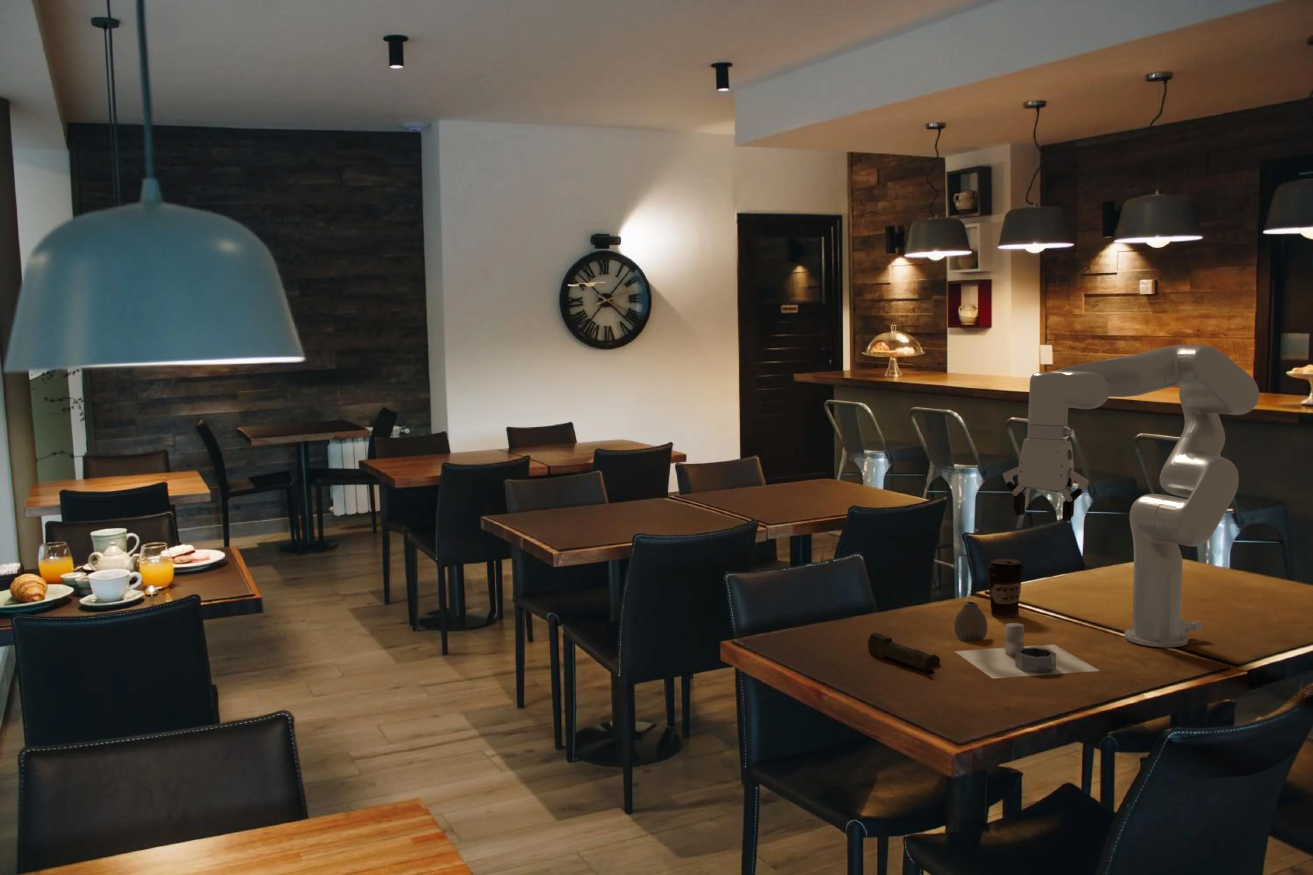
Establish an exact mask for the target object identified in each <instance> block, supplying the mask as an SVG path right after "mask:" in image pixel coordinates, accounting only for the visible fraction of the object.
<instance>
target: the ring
mask: <svg viewBox="0 0 1313 875" xmlns="http://www.w3.org/2000/svg"><path fill="white" fill-rule="evenodd" d="M1015 667H1017V668H1019V669H1020V670H1022V671H1025V672H1031V673H1051V672H1053V671H1054V670H1055V669H1056V653H1054V652H1053V651H1051V650H1049V649H1043V648H1037V647H1028V648H1020V649H1018V650H1017V651H1016V656H1015Z"/></svg>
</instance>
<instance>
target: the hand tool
mask: <svg viewBox="0 0 1313 875" xmlns="http://www.w3.org/2000/svg"><path fill="white" fill-rule="evenodd" d="M867 647H868V648H867V649H868V651H869V652H870V653H871V654H872V655H875V656H876V657H879V658H881V659H888V658H889V659H892V660H894V661H897V662H900V663H903V664H906V665H908V666H910V667H913V668H915V669H917V670H920V671H924V673H925V674H926V675H932V674H935V673H936V671H934V670H933V669H932V667H933V668H934V667H937V666H939V665H940V662H941V661H940V660H941V658H940V657H939V656H938V655H936V654H929V653H926V652H924V651H922V650H920V649H913V648H911V647H907V646H906V645H902V644H899V643H897V642H895V641H893V638H892V637H891V636H887V635H884V634H881V633H879V632H878V633H877V632H872V634H871V633H870V636H869V637H868V639H867Z"/></svg>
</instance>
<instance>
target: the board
mask: <svg viewBox="0 0 1313 875" xmlns="http://www.w3.org/2000/svg"><path fill="white" fill-rule="evenodd" d="M1004 646H1005V647H1000V648H999V647H998V648H996V647H995V648H983V649H981V648H980V649H969V650H966V649H965V650H954V652H955V653H956V654H957V655H959V656H960V657H961V658H963V659H964V660H965V661H967V662H969V663H970V664H971V665H972V666H974V667H975V668H977V669H978V670H980V671H981V672H983V673H984V674H985V675H987V676H988V677H990V678H991V679H1007V678H1019V677H1020V678H1021V677H1032V676H1033V677H1034V676H1035V677H1036V676H1047V675H1048V676H1050V675H1061V674H1062V675H1063V674H1064V675H1067V674H1076V673H1078V674H1079V673H1080V674H1081V673H1091V672H1100V671H1101V670H1100V669H1098V668H1096V667H1094V666H1093V665H1091V664H1089V663H1087V662H1086V661H1084V660H1082V659H1081V658H1079V657H1077V656H1076V655H1073V654H1072V653H1070V652H1068V651H1067V650H1065V649H1063V648H1061V647H1059V646H1058V645H1056V644H1042V645H1028V646H1025V625H1024V624H1022V623H1019V622H1018V623H1017V622H1014V623H1013V622H1009V623H1006V624H1005V644H1004ZM1028 647H1037V648H1043V649H1049V650H1051V651H1053V652H1054V653H1056V669H1055V670H1054V671H1053V672H1051V673H1031V672H1025V671H1022V670H1020V669H1019V668H1017V667H1015V656H1016V651H1017V650H1018V649H1020V648H1028Z"/></svg>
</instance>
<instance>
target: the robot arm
mask: <svg viewBox="0 0 1313 875" xmlns="http://www.w3.org/2000/svg"><path fill="white" fill-rule="evenodd" d="M1177 386H1178V387H1179V388H1178V389H1179V390H1178V396H1179V401H1180V405H1181V408H1182V412H1183V417H1184V427H1183V429H1182V430H1183V431H1182V433H1181V435H1180V437H1179V439H1178V441H1177V442H1176V444H1175V446H1174V447H1173V449H1172V451H1171V453H1170V454H1169V456H1168V458H1167V459H1166V461H1165V463H1164V464H1163V466H1162V469H1161V472H1160V475H1159V485H1160V486H1161V488H1162V489H1163V490H1164V491H1165V492H1167V493H1169V494H1172V495H1175V496H1172V495H1167V494H1166V495H1165V494H1159V493H1149V494H1144V495H1141V496H1140V497H1138V498H1137V499H1136V500H1135V501H1134V502H1133V503H1132V505H1131V508H1130V511H1129V524H1130V531H1131V534H1132V540H1133V542H1132V544H1133V580H1132V581H1133V583H1132V584H1133V587H1132V588H1133V589H1132V590H1133V591H1132V594H1133V595H1132V627H1130V628H1128V629H1126V630H1125V631H1124V638H1125V639H1126V640H1127V641H1129V642H1130V643H1134V644H1138V645H1141V646H1147V647H1154V648H1178V647H1184V646H1186V645H1187V644H1188V643H1189V637H1190V636H1188V635H1187V634H1186V633H1189V631H1191V632H1192V631H1193V632H1195V631H1196V632H1197V631H1202V630H1203V624H1202V622H1201V621H1200V620H1198V621H1197V620H1196V621H1189V620H1188V619H1182V593H1183V592H1182V590H1183V589H1182V588H1183V564H1184V563H1183V556H1182V552H1181V549H1180V547H1179V545H1180V546H1181V545H1182V546H1187V547H1198V546H1202V545H1203V544H1205V543H1207V541H1209V540H1210V538H1211V537H1212V535H1213V534H1214V533H1215V531H1216V530H1217V528H1218V526H1219V524H1220V523H1221V521H1222V519H1223V517H1224V516H1225V514H1226V513H1227V511H1228V509H1229V507H1230V505H1232V504H1231V503H1232V502H1233V500H1234V498H1235V496H1236V493H1237V491H1238V488H1239V482H1240V479H1239V478H1240V477H1239V470H1238V468H1237V466H1235V464H1234V463H1233V462H1232V461H1231V460H1229V459H1227V458H1226V457H1223V456H1220V454H1221V452H1222V450H1223V448H1224V446H1225V441H1226V432H1225V429H1224V426H1223V424H1222V420H1221V417H1220V415H1232V416H1239V415H1240V416H1241V415H1245V414H1248V413H1250V412H1251V411H1252V410H1254V408H1255V407H1256V406H1257V404H1258V402H1259V398H1260V390H1259V387H1258V384H1257V382H1256V381H1255V378H1253V377H1252V376H1251V375H1250V374H1249V373H1248V372H1247V371H1245V370H1244V369H1243V368H1242V367H1241V366H1240V365H1238V364H1237V363H1236V362H1235V361H1233V359H1231V358H1230V357H1228V356H1227V355H1226V354H1224V353H1223V352H1222V351H1220V350H1219V349H1217V348H1215V347H1213V346H1210V345H1205V344H1203V345H1200V344H1196V345H1195V344H1194V345H1193V344H1177V345H1175V344H1173V345H1167V346H1165V347H1160V348H1156V349H1151V350H1148V351H1144V352H1140V353H1135V354H1131V355H1127V356H1120V357H1114V358H1113V357H1112V358H1109V359H1103V360H1099V361H1098V360H1097V361H1092V362H1084V363H1082V364H1076V365H1071V366H1067V367H1063V368H1059V369H1056V370H1053V371H1050V372H1049V371H1043V372H1041V371H1039V372H1035V373H1033V374H1032V375H1031V376H1030V379H1029V392H1028V393H1029V395H1028V413H1027V415H1028V416H1027V432H1026V433H1027V436H1026V438H1024V439H1023V442H1022V447H1021V450H1020V456H1019V462H1018V466H1017V467H1014V468H1012V469H1010V470H1008V471H1005V472H1003V473H1002V476H1003V479H1004V480H1003V481H1004V482H1005V483H1006V484H1005V485H1006V487H1007V488H1008V489H1009V491H1010V492H1011V493H1012V496H1014V499H1013V511H1014V512H1015V516H1022V515H1024V514H1026V512H1025V511H1026V495H1025V494H1024V493H1025V492H1026V491H1027V490H1028V489H1032V490H1040V491H1042V490H1043V491H1053V492H1060V493H1061V495H1062V496H1063V498H1064V499H1065V500H1064V501H1063V502H1062V514H1061V515H1062V517H1061V520H1062V521H1063V522H1068V521H1070V520H1072V518H1073V517H1074V513H1075V501H1077V499H1078V498H1079V497H1080V496H1082V495H1083V494H1084V493H1085V490H1086V489H1087V487H1088V485H1089V484H1090V481H1089V479H1087V478H1085V477H1084V476H1083V475H1081V474H1079V473H1078V472H1076V471H1074V469H1075V468H1074V467H1075V466H1074V453H1073V446H1072V442H1071V441H1070V440H1067V439H1068V437H1073V436H1075V430H1074V429H1071V428H1069V425H1068V416H1069V408H1072V409H1079V410H1092V409H1097V408H1099V407H1101V406H1102V405H1104V404H1105V403H1106V402H1107V401H1108V399H1109V398H1125V397H1138V396H1142V395H1145V394H1150V393H1152V392H1157V391H1160V390H1165V389H1169V388H1172V387H1177ZM1016 475H1017V483H1018V484H1017V483H1015V482H1016V481H1014V479H1013V478H1014V476H1016ZM1074 482H1076V483H1077V484H1078V485H1077V487H1076V489H1075V490H1073V489H1072V488H1073V487H1074ZM1177 496H1178V497H1177ZM1181 497H1182V498H1181Z"/></svg>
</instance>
